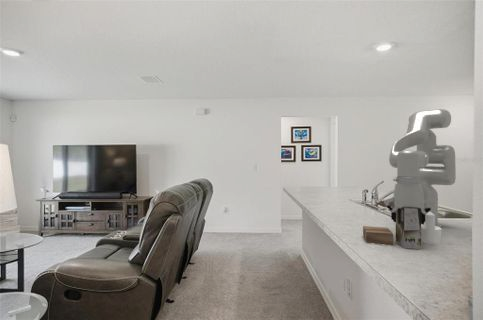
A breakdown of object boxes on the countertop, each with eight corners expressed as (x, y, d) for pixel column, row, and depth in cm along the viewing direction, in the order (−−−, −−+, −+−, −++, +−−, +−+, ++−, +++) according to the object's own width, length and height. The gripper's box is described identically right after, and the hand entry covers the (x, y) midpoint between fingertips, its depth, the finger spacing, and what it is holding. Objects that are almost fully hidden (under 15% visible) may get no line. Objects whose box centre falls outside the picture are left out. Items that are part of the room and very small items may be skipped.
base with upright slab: (414, 236, 117) (414, 210, 117) (438, 239, 113) (438, 212, 113) (417, 242, 109) (417, 214, 109) (444, 245, 105) (444, 216, 105)
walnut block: (363, 236, 118) (363, 226, 118) (387, 238, 115) (387, 227, 115) (366, 243, 108) (366, 231, 108) (393, 246, 105) (393, 234, 105)
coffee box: (422, 249, 100) (422, 208, 100) (403, 248, 102) (403, 207, 102) (411, 242, 109) (411, 204, 109) (395, 241, 111) (395, 203, 110)
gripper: (385, 181, 105) (385, 222, 105) (436, 182, 99) (436, 226, 99) (382, 179, 112) (382, 218, 112) (430, 180, 106) (430, 222, 106)
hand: (407, 222), depth 105 cm, fingers open, 9 cm apart
